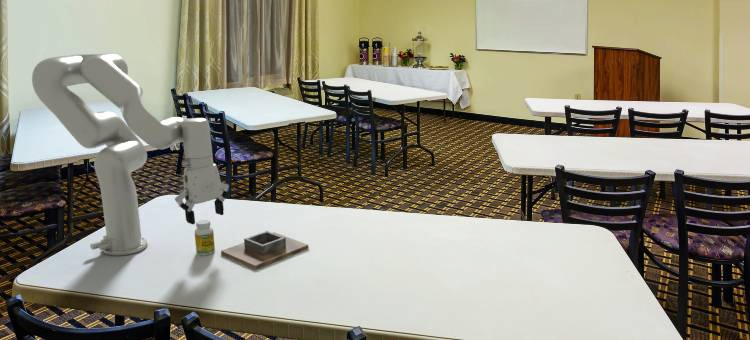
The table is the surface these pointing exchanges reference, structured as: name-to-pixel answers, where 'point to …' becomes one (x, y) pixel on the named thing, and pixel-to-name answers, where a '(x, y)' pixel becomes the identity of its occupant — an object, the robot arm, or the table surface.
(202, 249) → the supplement bottle
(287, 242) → the board with square frame
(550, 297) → the table surface
